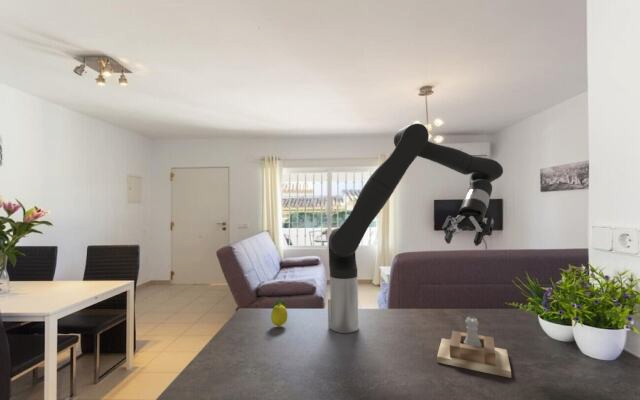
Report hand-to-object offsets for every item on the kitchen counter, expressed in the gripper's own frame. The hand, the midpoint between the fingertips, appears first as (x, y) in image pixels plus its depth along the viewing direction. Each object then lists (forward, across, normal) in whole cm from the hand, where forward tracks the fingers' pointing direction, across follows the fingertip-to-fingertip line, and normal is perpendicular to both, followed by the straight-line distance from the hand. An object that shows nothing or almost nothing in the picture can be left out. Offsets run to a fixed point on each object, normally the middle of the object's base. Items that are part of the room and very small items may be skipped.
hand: (461, 243), depth 91 cm
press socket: (+28, +7, +12) cm, 31 cm away
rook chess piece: (+26, +7, +11) cm, 30 cm away
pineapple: (+46, -46, -5) cm, 65 cm away
